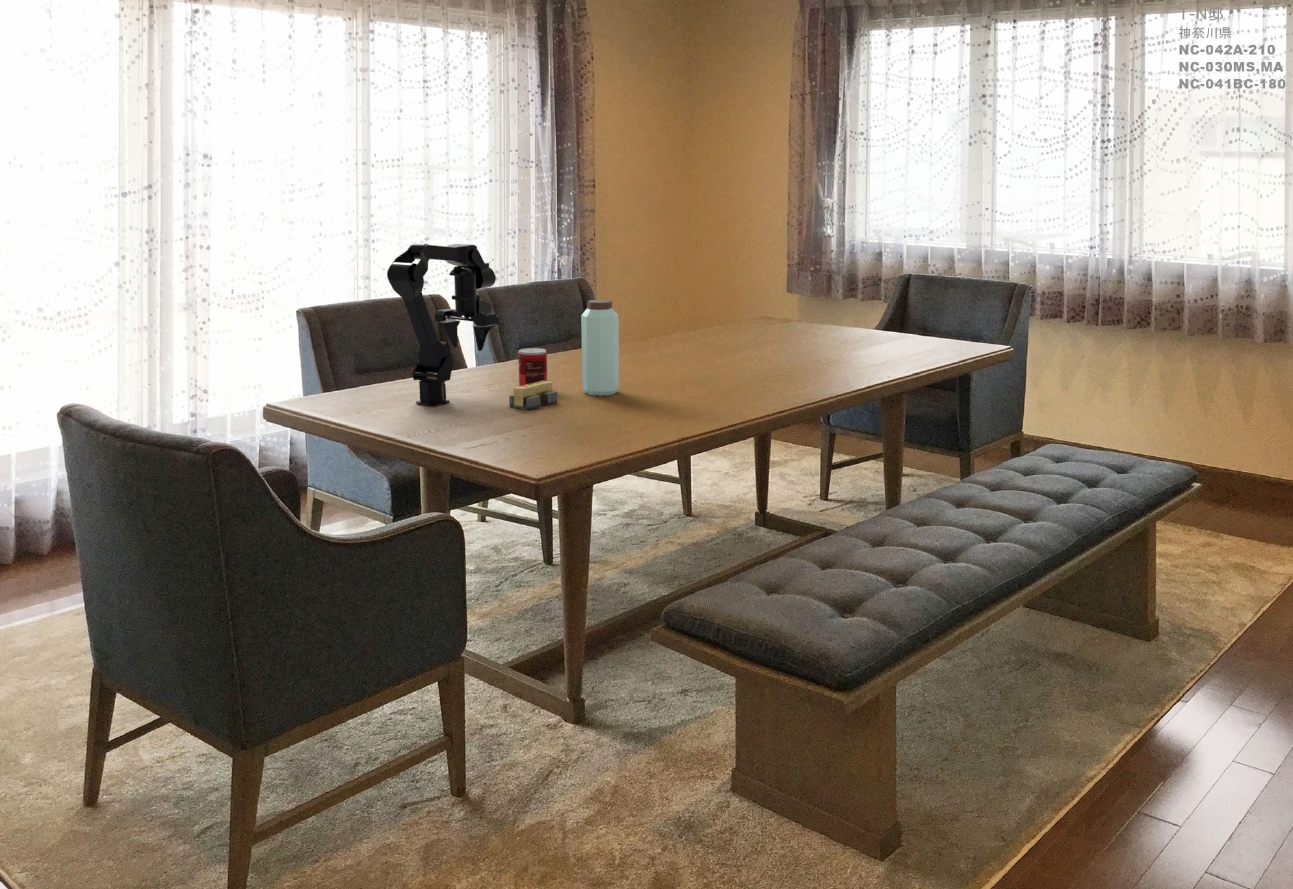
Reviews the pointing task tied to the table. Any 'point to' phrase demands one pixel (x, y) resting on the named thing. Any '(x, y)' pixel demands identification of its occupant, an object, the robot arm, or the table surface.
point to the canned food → (532, 365)
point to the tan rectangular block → (531, 391)
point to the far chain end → (549, 398)
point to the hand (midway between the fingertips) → (467, 349)
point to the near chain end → (530, 402)
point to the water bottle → (600, 348)
